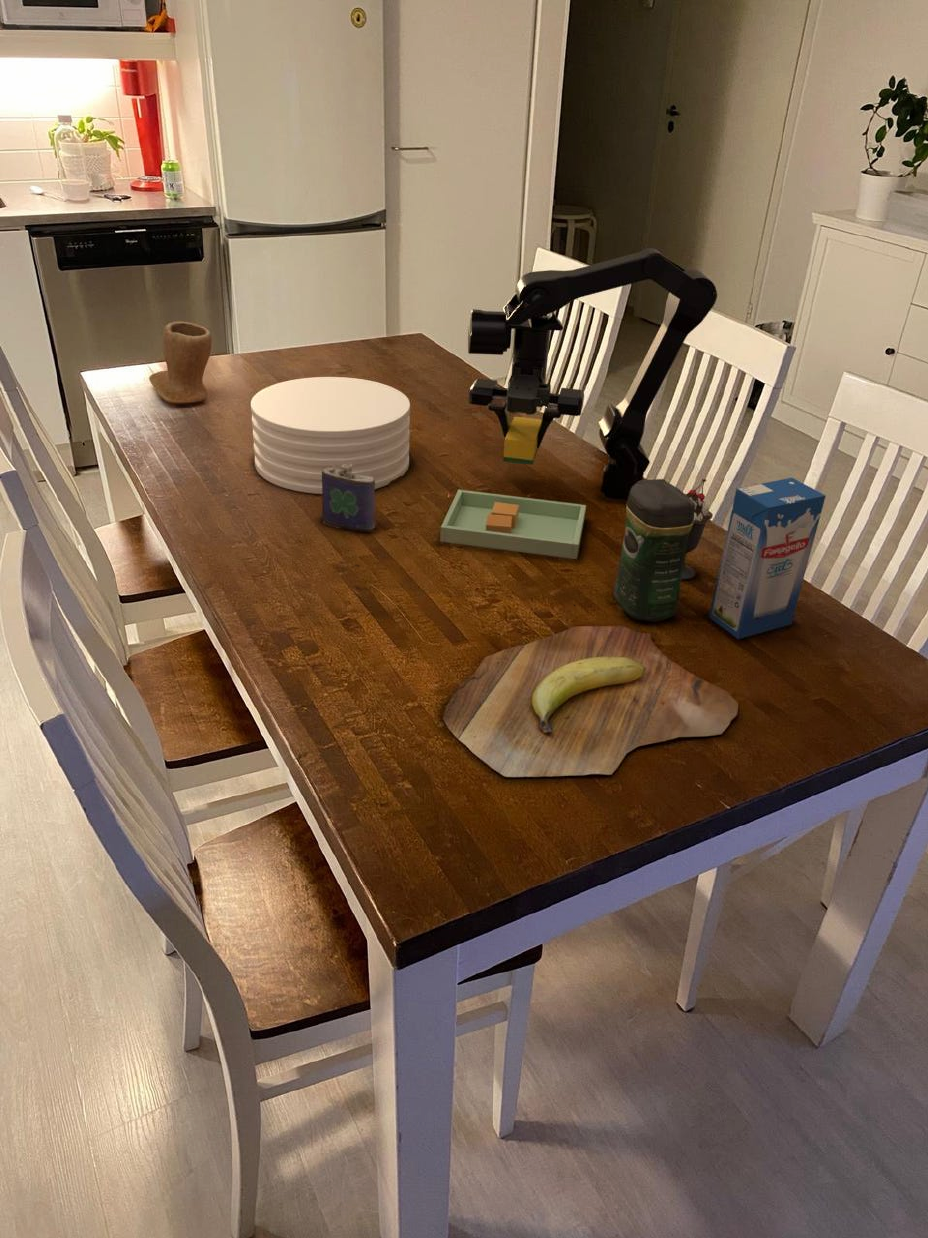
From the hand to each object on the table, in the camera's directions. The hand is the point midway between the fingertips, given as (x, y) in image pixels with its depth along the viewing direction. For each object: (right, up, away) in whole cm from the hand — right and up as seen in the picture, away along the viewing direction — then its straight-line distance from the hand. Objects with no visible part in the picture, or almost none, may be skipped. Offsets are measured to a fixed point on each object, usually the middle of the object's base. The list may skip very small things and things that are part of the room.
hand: (522, 445), depth 167 cm
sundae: (+23, -23, -17) cm, 36 cm away
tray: (-2, -16, -9) cm, 18 cm away
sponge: (0, -1, +1) cm, 1 cm away
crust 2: (-5, -16, -11) cm, 20 cm away
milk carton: (+31, -30, -28) cm, 52 cm away
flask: (-29, -15, -9) cm, 34 cm away
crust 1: (-3, -14, -7) cm, 16 cm away
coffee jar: (+16, -28, -26) cm, 42 cm away
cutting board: (+4, -40, -47) cm, 61 cm away
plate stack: (-34, -1, +12) cm, 36 cm away
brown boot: (-69, +17, +38) cm, 81 cm away
